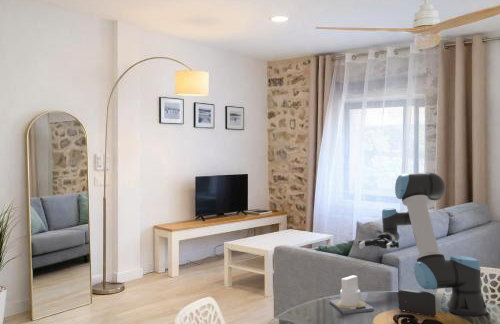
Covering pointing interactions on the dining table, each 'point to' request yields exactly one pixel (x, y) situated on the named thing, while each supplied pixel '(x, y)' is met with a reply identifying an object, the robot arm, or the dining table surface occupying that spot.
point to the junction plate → (351, 307)
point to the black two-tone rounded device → (417, 301)
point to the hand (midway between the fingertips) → (373, 246)
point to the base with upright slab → (350, 291)
